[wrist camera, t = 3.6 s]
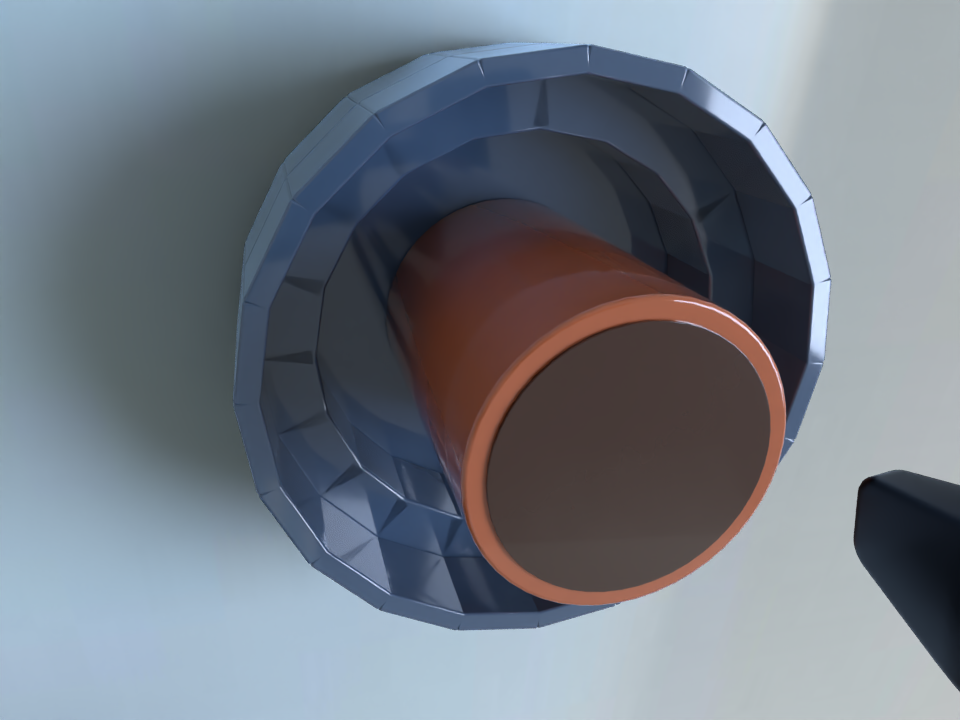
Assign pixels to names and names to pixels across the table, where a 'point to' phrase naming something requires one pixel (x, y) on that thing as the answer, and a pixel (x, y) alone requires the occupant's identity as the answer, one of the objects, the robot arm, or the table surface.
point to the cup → (581, 402)
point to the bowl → (436, 194)
